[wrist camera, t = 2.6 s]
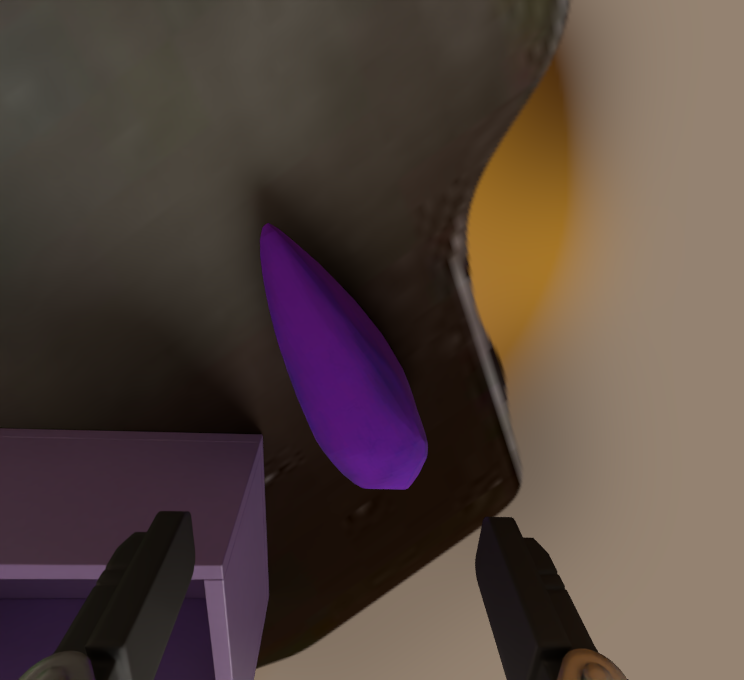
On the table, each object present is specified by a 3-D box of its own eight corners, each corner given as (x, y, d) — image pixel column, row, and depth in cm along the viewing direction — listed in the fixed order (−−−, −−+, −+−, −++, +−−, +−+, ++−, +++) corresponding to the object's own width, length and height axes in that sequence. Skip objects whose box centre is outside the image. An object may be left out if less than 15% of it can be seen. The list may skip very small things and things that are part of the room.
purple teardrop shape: (303, 199, 17) (460, 498, 21) (318, 199, 22) (444, 444, 26) (197, 257, 18) (369, 536, 22) (233, 245, 22) (370, 476, 26)
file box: (262, 433, 25) (222, 565, 17) (269, 595, 30) (240, 755, 22) (-95, 425, 24) (-318, 563, 16) (-27, 595, 29) (-171, 765, 21)
